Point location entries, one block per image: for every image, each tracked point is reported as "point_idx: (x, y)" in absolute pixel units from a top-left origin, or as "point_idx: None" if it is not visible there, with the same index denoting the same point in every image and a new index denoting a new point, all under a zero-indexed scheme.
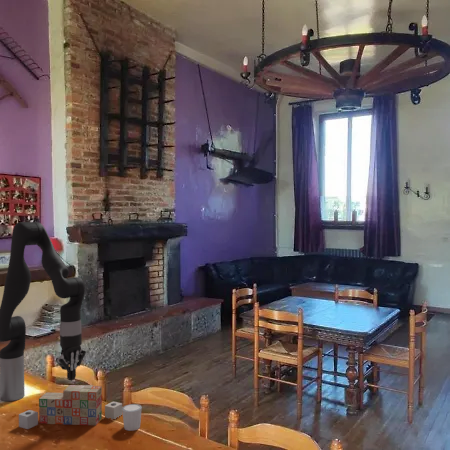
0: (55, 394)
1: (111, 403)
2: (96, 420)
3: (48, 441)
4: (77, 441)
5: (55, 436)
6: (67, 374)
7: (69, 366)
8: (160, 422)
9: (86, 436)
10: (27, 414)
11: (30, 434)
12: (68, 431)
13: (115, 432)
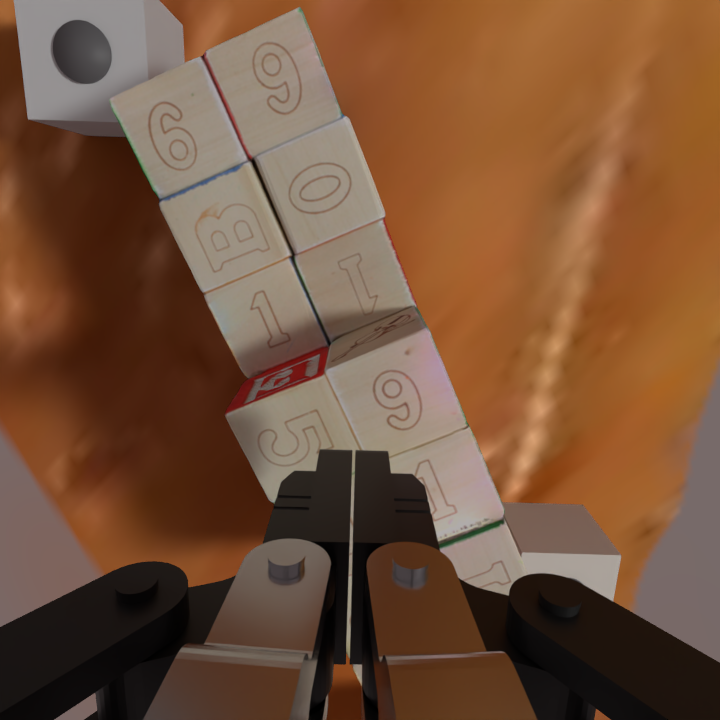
0: (305, 186)
1: (579, 570)
2: None
3: (55, 423)
4: None
5: (125, 412)
6: (269, 524)
7: (370, 576)
8: None
9: (227, 575)
10: (61, 70)
11: (47, 231)
12: (220, 435)
13: (348, 679)
